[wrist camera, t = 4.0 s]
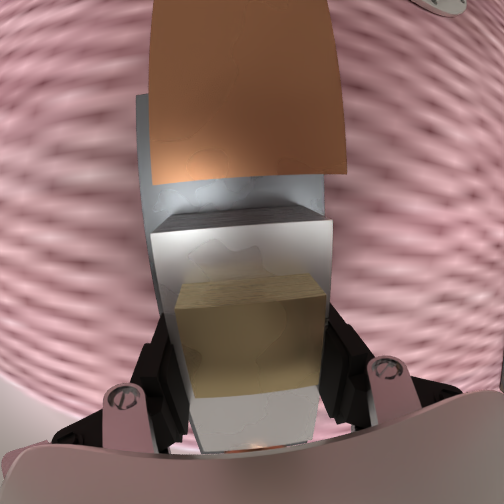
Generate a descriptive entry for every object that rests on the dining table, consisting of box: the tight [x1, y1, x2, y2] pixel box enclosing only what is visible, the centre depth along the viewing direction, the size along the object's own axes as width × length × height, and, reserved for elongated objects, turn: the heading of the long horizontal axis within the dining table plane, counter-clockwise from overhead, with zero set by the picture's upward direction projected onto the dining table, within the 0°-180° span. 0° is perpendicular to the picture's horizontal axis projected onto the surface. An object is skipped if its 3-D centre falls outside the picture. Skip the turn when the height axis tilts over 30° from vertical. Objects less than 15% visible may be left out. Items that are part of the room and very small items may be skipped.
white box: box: [150, 206, 333, 452], centre depth 9 cm, size 10×5×4 cm, turn 3°
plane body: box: [136, 0, 347, 454], centre depth 11 cm, size 20×7×12 cm, turn 3°
